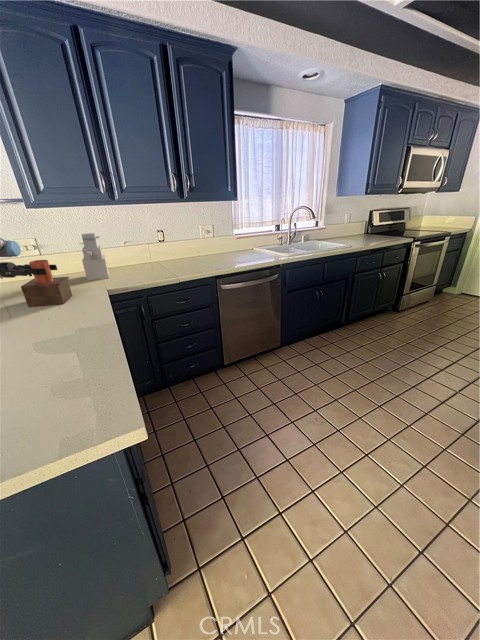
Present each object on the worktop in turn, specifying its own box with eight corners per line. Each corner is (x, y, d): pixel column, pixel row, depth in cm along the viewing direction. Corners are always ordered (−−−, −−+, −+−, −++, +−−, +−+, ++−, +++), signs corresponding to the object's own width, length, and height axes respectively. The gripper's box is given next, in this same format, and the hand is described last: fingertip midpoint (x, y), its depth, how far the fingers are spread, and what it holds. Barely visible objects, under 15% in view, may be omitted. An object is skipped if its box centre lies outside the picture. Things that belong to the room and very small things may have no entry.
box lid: (69, 278, 141) (68, 276, 140) (59, 285, 129) (59, 283, 128) (34, 280, 137) (33, 278, 137) (21, 288, 125) (20, 286, 125)
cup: (35, 284, 128) (28, 263, 124) (37, 280, 134) (30, 260, 130) (53, 282, 131) (46, 261, 127) (54, 278, 137) (48, 259, 133)
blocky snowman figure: (109, 271, 191) (100, 231, 180) (108, 280, 172) (98, 235, 160) (89, 273, 187) (78, 232, 175) (86, 282, 167) (74, 236, 155)
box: (72, 295, 145) (67, 278, 140) (63, 304, 133) (57, 285, 128) (40, 298, 141) (34, 280, 137) (28, 307, 129) (21, 288, 125)
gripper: (22, 272, 141) (65, 271, 141) (-10, 283, 122) (39, 282, 122) (17, 258, 137) (61, 257, 138) (-17, 267, 119) (34, 266, 119)
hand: (51, 269), depth 130 cm, fingers closed on cup, 7 cm apart
